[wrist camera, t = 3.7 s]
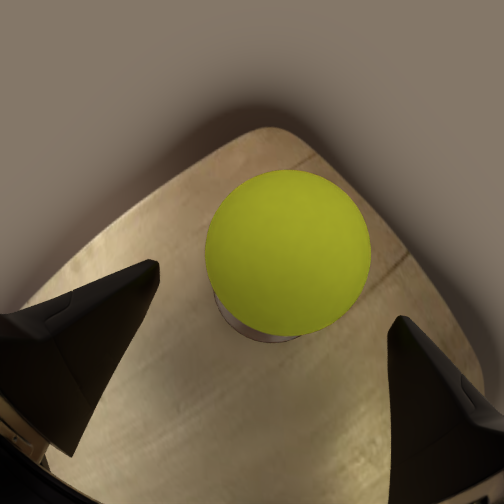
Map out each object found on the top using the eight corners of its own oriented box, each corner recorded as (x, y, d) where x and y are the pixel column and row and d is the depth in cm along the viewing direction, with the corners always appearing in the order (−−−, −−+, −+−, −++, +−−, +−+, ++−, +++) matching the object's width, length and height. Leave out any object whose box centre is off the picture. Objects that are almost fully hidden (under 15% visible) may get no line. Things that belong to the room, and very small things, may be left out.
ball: (275, 360, 13) (297, 388, 7) (190, 264, 14) (147, 216, 8) (363, 273, 14) (433, 235, 8) (281, 189, 16) (299, 108, 9)
